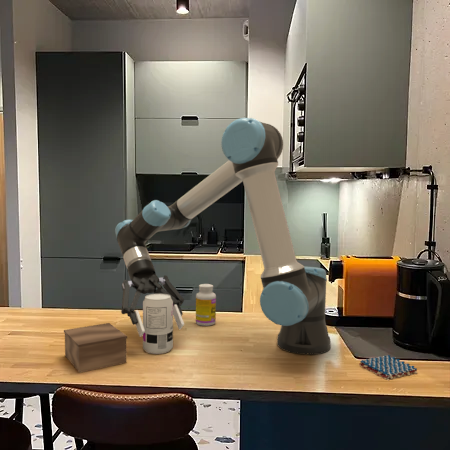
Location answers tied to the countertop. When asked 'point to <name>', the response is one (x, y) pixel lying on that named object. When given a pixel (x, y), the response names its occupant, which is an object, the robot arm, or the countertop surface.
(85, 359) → the walnut tea box
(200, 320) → the supplement bottle
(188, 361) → the countertop surface
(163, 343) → the supplement can
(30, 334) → the countertop surface
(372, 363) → the woven mat
